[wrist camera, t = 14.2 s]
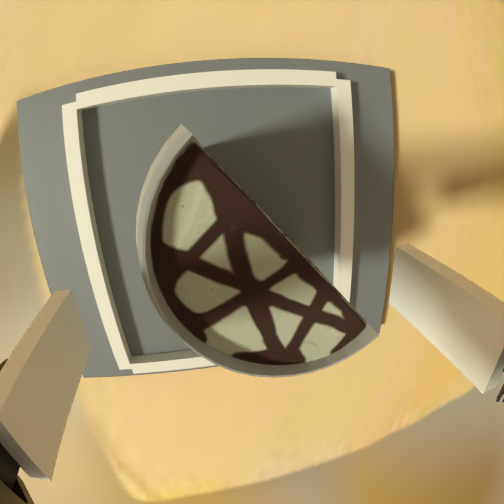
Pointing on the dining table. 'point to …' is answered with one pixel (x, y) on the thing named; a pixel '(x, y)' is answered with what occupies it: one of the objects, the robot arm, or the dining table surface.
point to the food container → (235, 273)
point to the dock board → (230, 159)
